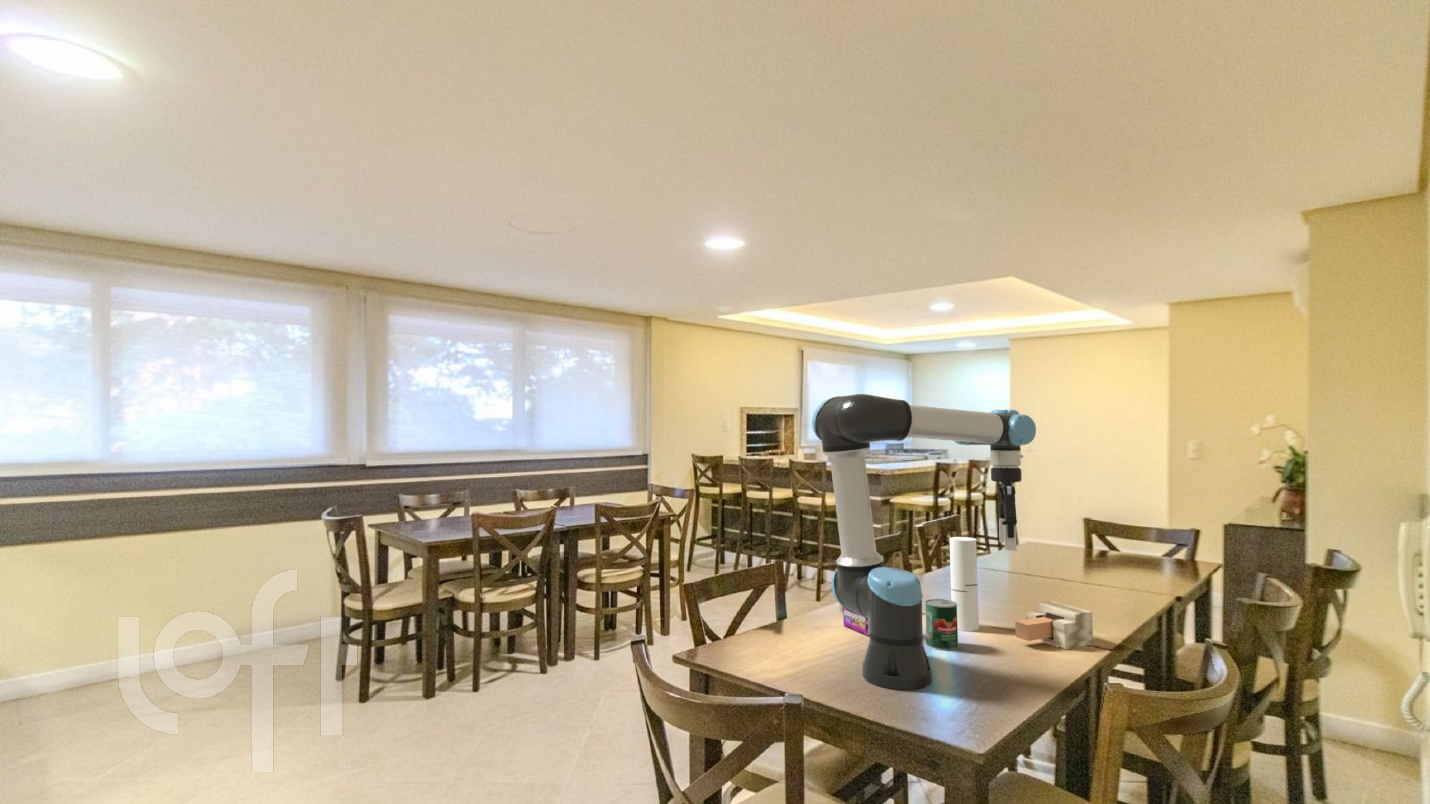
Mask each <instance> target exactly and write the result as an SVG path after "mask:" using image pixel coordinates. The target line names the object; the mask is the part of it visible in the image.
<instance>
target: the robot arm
mask: <svg viewBox="0 0 1430 804" xmlns="http://www.w3.org/2000/svg"><path fill="white" fill-rule="evenodd" d="M811 421H812V424H811V425H812V429H813V432H814V434H815V436H816V437H817V439H819V440H820V441H821V446H822V453H823V454H824V455H825V456H826V457H827V458H829V461H830V470H831V479H832V487H833V493H834V495H833V496H834V503H835V504H834V505H835V511H836V512H835V513H836V520H837V530H838V534H839V536H838V538H839V544H840V555H839V557H838V558H837V559H836V560H835V562H836V563H835V566H836V569H835V571H834V573H833V574H832V576H831V583H830V585H831V591H832V594H833V597H834V598H835V600H836V601H837V602H838V604H840V605H841V606H842V608H843V607H844V608H846V609H847V610H848V611H850V612H852V613H855V614H858V615H860V616H862V617H864V618H866V619H868V620H869V631H870V635H869V642H868V645H867V648H866V651H865V652H866V653H865V655H864V660H863V662H862V665H861V666H862V678H864V679H865V680H866V681H868V682H869V683H871V684H874V685H876V686H879V687H882V688H883V687H884V688H886V689H894V690H895V689H896V690H916V689H917V690H918V689H922V688H924V687H928V686H929V685H930V684H931V683H932V682H933V675H932V674H933V673H932V672H933V671H932V668H931V664H930V662H929V661H930V660H929V658H928V655H927V653H926V649H925V647H924V641H923V639H924V638H923V592H922V583H921V580H920V578H919V577H918V575H916V574H915V573H913V572H911V571H909V570H905V569H902V568H897V567H890V566H885V561H884V556H882V555H881V554H880V553H879V552H878V551H877V545H876V538H875V537H876V536H875V529H874V521H873V513H872V504H871V496H870V488H869V480H868V470H867V464H866V463H867V462H866V454H867V453H868V451H870V449H871V445H870V444H871V443H873V442H886V441H895V442H897V441H898V442H901V441H902V442H903V441H904V440H905V439H907V438H912V439H913V438H914V439H923V440H924V439H926V440H930V439H931V440H940V441H952V442H953V441H954V443H955V444H957V445H962V446H989V447H990V451H989V454H990V455H989V456H990V459H989V460H990V465H991V466H992V467H991V468H990V479H991V480H990V481H992V482H996V483H997V482H998V488H997V495H998V511H997V514H998V518H999V519H998V523H999V524H998V525H999V526H998V527H999V530H998V531H999V532H998V533H999V543H1003V544H1004V550H1005V551H1011V552H1013V551H1014V552H1015V551H1018V550H1017V523H1018V519H1017V510H1016V487H1015V486H1014V485H1013V483H1020V482H1022V469H1021V468H1020V466H1021V465H1022V460H1021V459H1023V458H1024V455H1023V454H1021V451H1022V449H1021V446H1025V445H1028V444H1030V443H1031V442H1033V441H1034V440H1035V437H1036V432H1037V426H1036V423H1035V421H1034V420H1033V418H1032V417H1030V416H1029V415H1027V414H1020V413H1019V411H1018V410H1016V409H993V410H991V411H990V412H983V411H975V410H974V411H973V410H966V409H965V410H963V409H954V408H943V407H931V406H922V405H921V406H920V405H912V404H910V403H909V402H908V401H906V400H904V399H897V398H890V397H884V396H878V395H873V394H865V393H857V394H856V393H855V394H852V395H851V394H850V395H841V396H840V395H839V396H833V397H830V398H828V399H826V400H823V401H822V402H821V403H819V405H817V408H815V410H814V412H813V415H812V420H811ZM999 482H1000V483H999Z"/></svg>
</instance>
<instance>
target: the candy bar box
mask: <svg viewBox="0 0 1430 804" xmlns="http://www.w3.org/2000/svg"><path fill="white" fill-rule="evenodd" d="M842 608H843V610H842V612H843V617H842V618H843V626H844V627H846V628H848V629H850V630H852V629H853V630H852V631H855V632H858V633H860V634H862V635H864V636H870V631H869V620H868V619H866V618H864V617H862V616H860V615H858V614H855V613H852V612H850V611H848V610H847V609H846V608H844V607H843V606H842Z"/></svg>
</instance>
